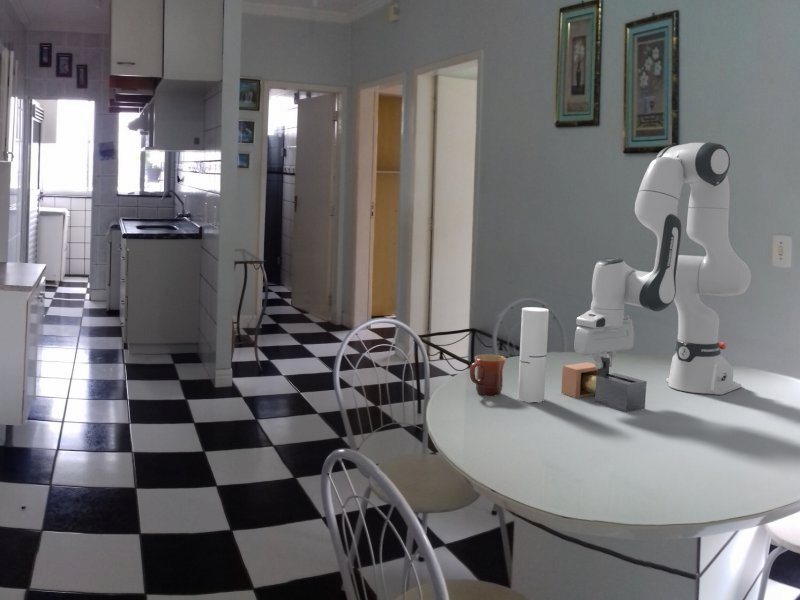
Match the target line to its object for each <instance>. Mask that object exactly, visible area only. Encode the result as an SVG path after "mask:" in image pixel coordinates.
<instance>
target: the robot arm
mask: <svg viewBox="0 0 800 600" xmlns="http://www.w3.org/2000/svg"><path fill="white" fill-rule="evenodd" d="M730 163H731V158H730V154H729V152H728V150H727V148H726V147H725V146H724V145H723V144H720V143H717V142H713V141H712V142H711V141H709V142H689V143H683V144H678V145H676V144H675V145H670V146H666V147H664V148H663V149H662V150H660V151H659V152H658V154H657V155H656V158H655V159H652V161H651V162H650V163H649V165H648V167H647V168H646V171H645V173H644V175H643V176H642V177H643V178H642V181H641V183H640V185H639V189H638V192H637V195H636V197H635V203H634V214H635V216H636V218H637V220H638V221H639V222H640V223H641V224H642V226H644V227H645V228H647V229H649V230H650V231H651V232H653V234H654V235H655V236H656V239H657V246H656V251H655V252H656V253H655V260H654V267H653V269H652V271H645V270H644V271H643V270H639V269H635V268H633V267H631V266H630V265H628V264H627V263H626V262H625V259H623V258H621V257H606V258H602V259H600V260H598V261H597V262H596V264H595V266H594V269H593V272H592V273H593V274H592V281H591V294H592V301H591V304H590V310H588V311H585V312H584V313H583V314H581V315H580V316H578V317H576V320H575V323H576V325H578V326H577V327H576V328H575V329H576V330H575V333H574V345H573V347H574V349H573V350H574V351H575V353H577V354H578V355H581V356H589V355H592V358H593V360H594V361H595V363H594V364H595V367H596V368H598V369H601V368H604V366H603V365H604V362H602V360H601V357H602V356H603V353H606V354H607V355H606V357H607V358H610V365H609V368H612V366H613V361H614V359H615V357H616V354H617V352H618V351H625V350H631V349H633V347H634V345H635V329H634V328H635V327H634V325H633V319H632V318H631V317H630V316H629V315H625V304H627V305H631V306H636V307H639V308H644V309H646V310H650V311H654V312H661V311H664V310H665V309H667V308H669V306H670V305H671V304H672V303H673V302H674V304H675V306H676V309H677V316H678V317H677V319H678V321H677V322H678V325H677V328H678V329H677V338H676V340H675V343H674V346H675V347H674V351H675V354H673V356H672V359H671V364H670V369H669V370H670V372H669V376H668V377H666V380H665V381H666V382H667V385H668V386H669V388H672V389H675V390H678V391H682V392H685V393H686V392H687V393H693V394H695V393H696V394H709V395H720V396H721V395H725V394H727V393H729V392H732V391H736V390H737V389H741V388H742V383H740V382H738V381H735V380H734V367H733V366H732V365H731V364H730V363H729V362H728V360H726V358H724V357H723V356H722V355H721V353H722V352H721V350H723V351H725V350H726V348H727V344H726V342H722V341H718V340H719V339H718V338H719V331H720V330H719V329H720V317H719V315H718V313H717V312H716V311H715V310H714V309H713V308H711V307H709V306H707V305H705V304H704V303H703V302H702V300H701V297H700V295H708V296H719V297H730V296H731V297H732V296H740V295H742V294H744V293H745V292H746V291H747V290H748V288H749V286H750V284H751V279H752V273H751V270H750V268H749V266H748V264H747V263H746V262H745V261H743V259H741V258H740V256H738V254H736V252H735V250H734V249H733V247H732V245H731V242H730V237H729V236H730V235H729V216H730V201H731V200H730V198H731V197H730V196H731V194H730V180H729V176H728V175H727V174H728V172H729V168H730V165H731V164H730ZM684 184H689V187H690V194H689V198H688V199H689V201H688V209H687V220H686V235H687V236H688V238H689V240H691V241H693V242H694V243H697V244H698V245H700V246H702V248H704V250H705V255H704V256H702V255H689V254H688V255H687V254H685V255H684V254H680V247H681V246H680V245H681V238H682V222H681V220H680V218H679V216H678V205H679V201H680V197H681V194H682V188H683V185H684Z"/></svg>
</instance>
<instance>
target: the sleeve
mask: <svg viewBox="0 0 800 600" xmlns="http://www.w3.org/2000/svg"><path fill="white" fill-rule="evenodd" d="M594 395H595V396H594V403H596V404H598V403H599V404H598V405H601V404H602V406H604V405H605V407H608V408H611V409H614V410H617V411H620V412H624V413H630V412H634V411H640V410H644V409H646V396H647V381H646V380H643V379H640V378H636V377H632V376H628V375H624V374H620V373H618V372H612V373H609V376H606V375H599V376H596V392H595V394H594Z"/></svg>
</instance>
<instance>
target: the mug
mask: <svg viewBox="0 0 800 600" xmlns="http://www.w3.org/2000/svg"><path fill="white" fill-rule="evenodd" d="M474 360H475V362H473V363H472V364H471V365H469V366H470V367H469V378H470V380H471V381H472V383H473V384H475V389H476V392H477V393H478V394H479V395H480V394H481V396H484V395H487V396H486V397H496V396H495V395H497V396H499V395H501V394H502V391H503V386H504V385H503V384H504V383H503V382H504V368H505V367H504V366H505V364H506V361H507V358H506V357H505V356H502V355H498V354H478V355H477V354H476V355H475V356H474Z"/></svg>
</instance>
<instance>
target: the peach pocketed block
mask: <svg viewBox="0 0 800 600" xmlns="http://www.w3.org/2000/svg"><path fill="white" fill-rule="evenodd" d="M561 371H562V373H561V374H562V375H561V393H560V394H562V393H563V394H562V395H565V394H566V395H565V396H568V395H569V396H568V397H571V396H572V398H574V399H576V398H577V399H578V398H582V397H588V396H594V395H595V394H593V393H590V392H587V391H583V390H580V382H581V373H582V372H585V373H588V374H592V375H596V376H597V373H598V368H596V367H595V363H593V362H592V363H591V362H589V361H586V362H580V363H574V364H573V363H571V364H566V365H562V370H561Z"/></svg>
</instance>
